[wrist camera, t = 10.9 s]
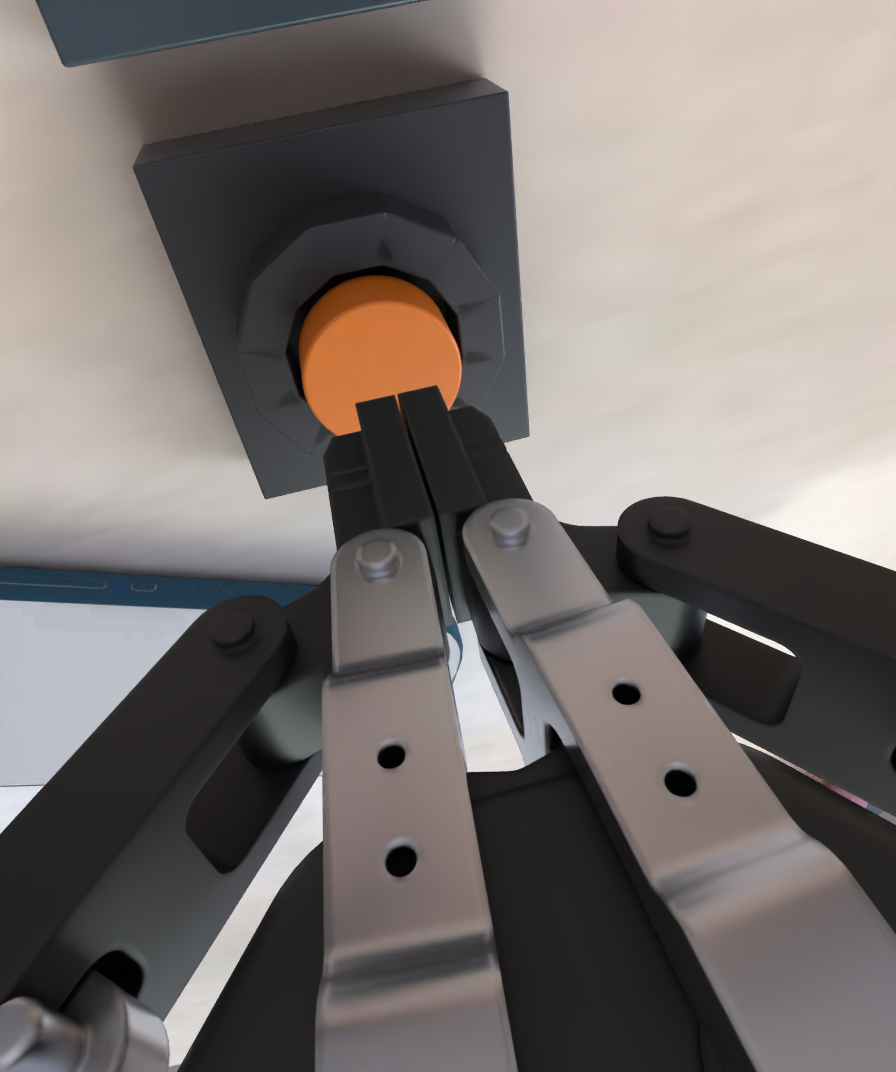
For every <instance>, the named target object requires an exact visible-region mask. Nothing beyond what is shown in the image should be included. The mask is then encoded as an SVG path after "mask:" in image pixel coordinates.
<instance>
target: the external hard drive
mask: <svg viewBox="0 0 896 1072" xmlns="http://www.w3.org/2000/svg"><path fill="white" fill-rule="evenodd" d="M316 587H318V586H308V585H292V584H276V583H259V582H243V581H227V580H211V579H194V578H178V577H162V576H145V575H129V574H113V573H97V572H80V571H64V570H48V569H31V568H15V567H0V787H12V786H42V785H46V783H47V782H48V781H49V780H50V779H51V778H52V777H53V776H54V775H55V774H56V772H57V771H58V770H59V769H60V768H61V767H62V766H63V765H64V764H65V763H66V762H67V760H68V759H69V758H70V757H71V756H72V755H73V754H74V753H75V752H76V751H77V749H78V748H79V747H80V746H81V745H82V744H83V743H84V742H85V741H86V740H87V739H88V737H89V736H90V735H91V734H92V733H93V732H94V731H95V730H96V729H97V728H98V726H99V725H100V724H101V723H102V722H103V721H104V720H105V719H106V718H107V717H108V715H109V714H110V713H111V712H112V711H113V710H114V709H115V708H116V707H117V706H118V705H119V703H120V702H121V701H122V700H123V699H124V698H125V697H126V696H127V695H128V694H129V692H130V691H131V690H132V689H133V688H134V687H135V686H136V685H137V684H138V683H139V681H140V680H141V679H142V678H143V677H144V676H145V675H146V674H147V673H148V672H149V671H150V669H151V668H152V667H153V666H154V665H155V664H156V663H157V662H158V661H159V660H160V658H161V657H162V656H163V655H164V654H165V653H166V652H167V651H168V650H169V649H170V648H171V646H172V645H173V644H174V643H175V642H176V641H177V640H178V639H179V638H180V637H181V635H182V634H183V633H184V632H185V631H186V630H187V629H188V628H189V627H190V626H191V624H192V623H193V622H194V621H195V620H196V619H197V618H198V617H199V616H200V615H201V614H203V613H204V612H205V611H207V610H208V609H209V608H211V607H213V606H214V605H216V604H218V603H220V602H222V601H224V600H227V599H230V598H233V597H238V596H244V595H259V596H264V597H267V598H270V599H272V600H274V601H275V602H277V603H278V604H279V605H280V606H281V607H283V606H285V605H287V604H289V603H291V602H293V601H295V600H297V599H299V598H301V597H303V596H304V595H306V594H308V593H309V592H311V591H312V590H314V589H315V588H316ZM452 618H453V616H452ZM453 623H454V625H451V626H447V627H446V632H447V637H448V642H449V647H450V658H449V662H448V664H449V669H450V674H451V679H452V683H453V681H454V679H455V677H456V674H457V671H458V669H459V666H460V663H461V660H462V650H463V645H462V639H461V636H460V633H459V629H458V626H457V623H456V621H455V619H454V618H453ZM319 776H322V771H321V773H320V774H319Z"/></svg>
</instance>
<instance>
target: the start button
mask: <svg viewBox="0 0 896 1072" xmlns="http://www.w3.org/2000/svg"><path fill="white" fill-rule="evenodd" d="M299 359H300V367H301V375H302V383H303V389H304V394H305V397H306V400H307V402H308V405H309V407H310V409H311V410H312V412H313V414H314V415H315V416H316V418H317V419H318V420H319V421H320V422H321V423H322V424H323V425H324V426H325V427H326V428H327V429H328V430H330V431H331V432H332V433H334V434H335V435H337V436H340V435H344V434H349V433H353V432H358V431H361V427H360V423H359V419H358V415H357V411H356V406H355V403H359V402H363V401H368V400H372V399H377V398H381V397H385V396H390V395H395V398H396V401H397V404H398V407H399V403H398V396H397V394H398V393H403V392H407V391H412V390H416V389H421V388H425V387H430V386H434V385H437V386H438V388H439V390H440V392H441V394H442V397H443V399H444V401H445V404H446V406H447V408H448V411H449V409H450V408H451V406H452V404H453V402H454V400H455V398H456V396H457V393H458V390H459V387H460V382H461V374H462V364H461V357H460V352H459V349H458V346H457V343H456V341H455V339H454V337H453V335H452V333H451V331H450V329H449V327H448V325H447V323H446V321H445V320H444V318H443V316H442V314H441V312H440V310H439V308H438V307H437V305H436V304H435V303H434V301H433V300H432V299H431V298H430V297H429V296H428V295H427V294H426V293H425V292H423V291H422V290H421V289H419V288H418V287H416V286H415V285H413V284H411V283H409V282H407V281H404V280H402V279H399V278H395V277H391V276H383V275H369V276H362V277H357V278H354V279H350V280H347V281H345V282H343V283H341V284H339V285H337V286H335V287H334V288H332V289H330V290H329V291H328V292H327V293H325V294H324V295H323V296H322V297H321V298H320V299H319V300H318V301H317V302H316V303H315V304H314V306H313V307H312V308H311V310H310V311H309V313H308V315H307V317H306V319H305V321H304V323H303V326H302V329H301V333H300V338H299ZM399 410H400V408H399Z"/></svg>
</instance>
